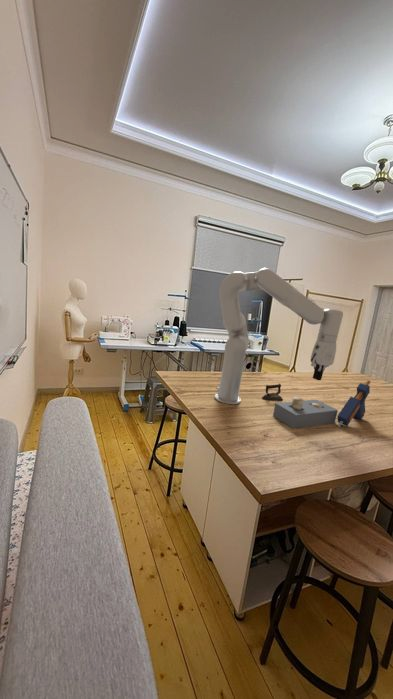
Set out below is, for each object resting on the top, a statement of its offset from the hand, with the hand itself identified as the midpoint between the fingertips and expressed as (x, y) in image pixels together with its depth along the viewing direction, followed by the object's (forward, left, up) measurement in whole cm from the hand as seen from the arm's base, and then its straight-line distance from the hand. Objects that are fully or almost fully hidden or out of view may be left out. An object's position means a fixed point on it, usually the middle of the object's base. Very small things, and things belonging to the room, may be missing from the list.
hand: (316, 379), depth 125 cm
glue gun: (+7, +20, -19) cm, 28 cm away
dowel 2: (0, +4, -18) cm, 19 cm away
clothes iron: (-24, -1, -19) cm, 30 cm away
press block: (0, -2, -19) cm, 19 cm away
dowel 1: (0, -9, -15) cm, 17 cm away
